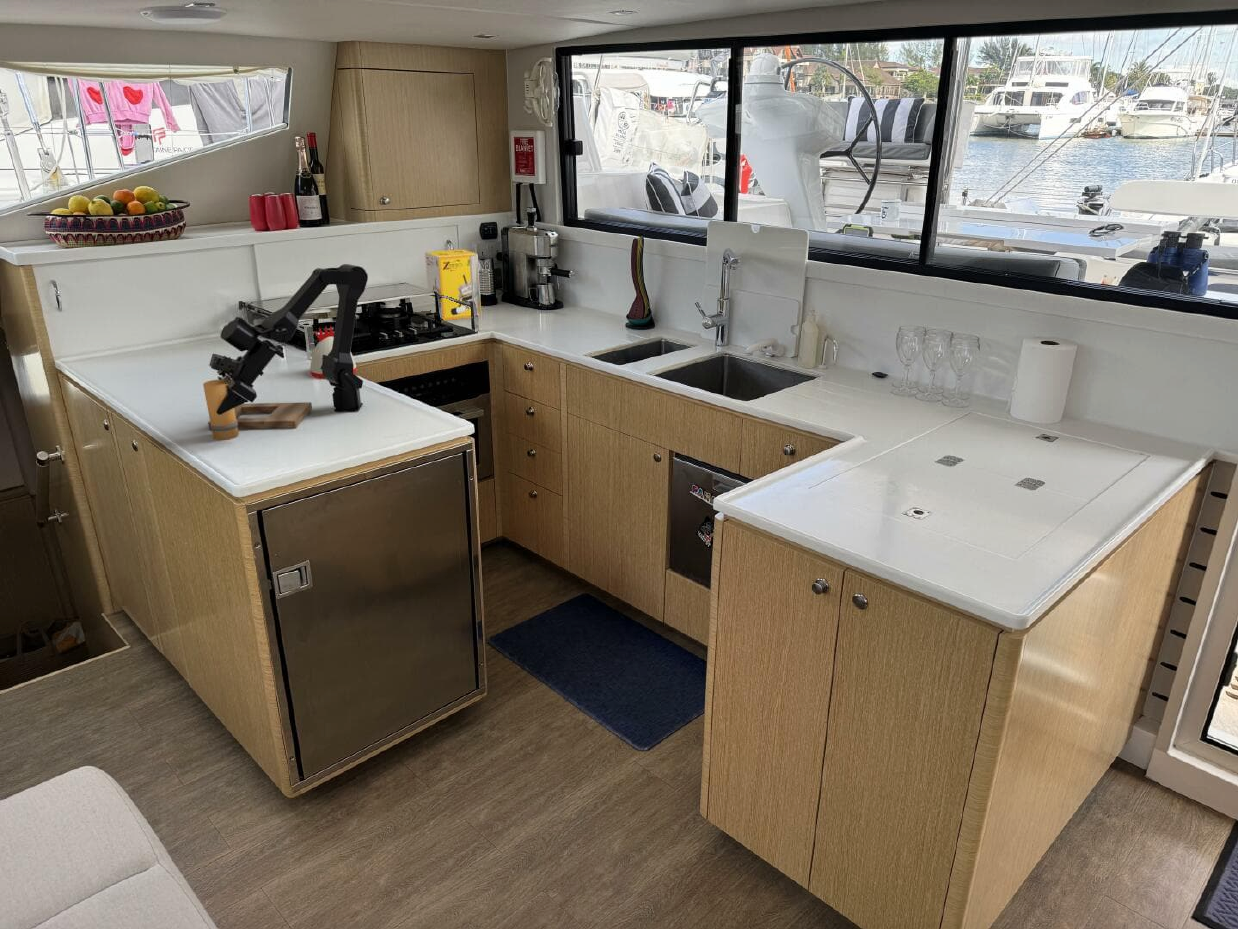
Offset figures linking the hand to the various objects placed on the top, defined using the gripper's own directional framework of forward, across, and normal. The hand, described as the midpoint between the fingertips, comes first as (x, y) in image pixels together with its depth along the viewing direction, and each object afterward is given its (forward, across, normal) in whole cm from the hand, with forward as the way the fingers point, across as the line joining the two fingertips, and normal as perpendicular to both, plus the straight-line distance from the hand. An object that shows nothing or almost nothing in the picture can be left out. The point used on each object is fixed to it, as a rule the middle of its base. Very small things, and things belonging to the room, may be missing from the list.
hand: (215, 410), depth 218 cm
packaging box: (-72, -105, +82) cm, 152 cm away
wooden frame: (-4, -9, +14) cm, 17 cm away
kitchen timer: (-24, -44, +35) cm, 61 cm away
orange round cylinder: (+4, 0, +6) cm, 7 cm away
